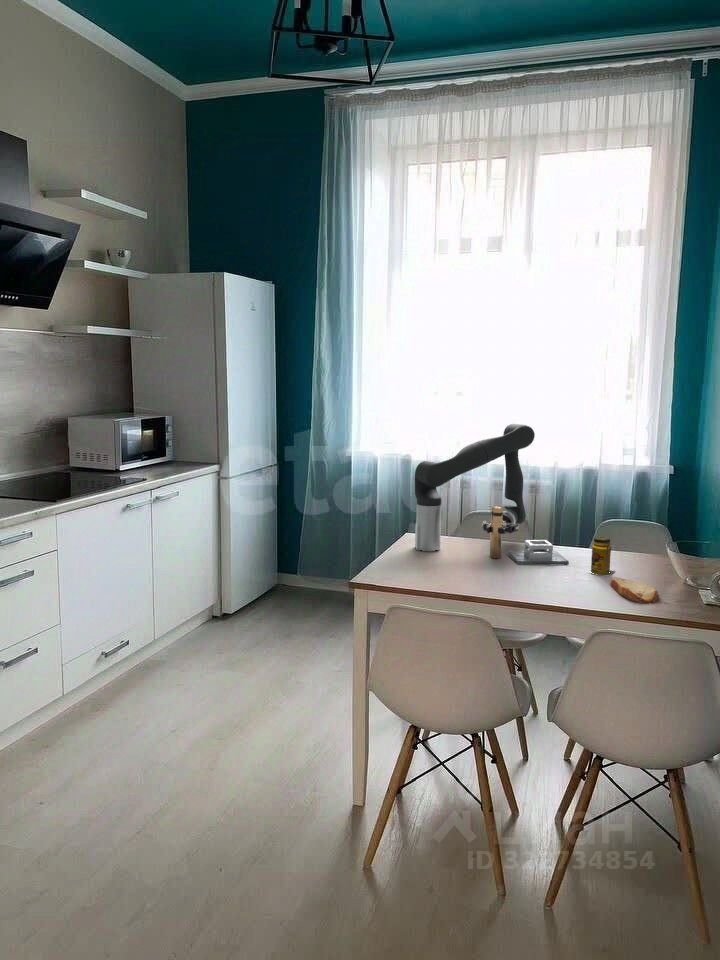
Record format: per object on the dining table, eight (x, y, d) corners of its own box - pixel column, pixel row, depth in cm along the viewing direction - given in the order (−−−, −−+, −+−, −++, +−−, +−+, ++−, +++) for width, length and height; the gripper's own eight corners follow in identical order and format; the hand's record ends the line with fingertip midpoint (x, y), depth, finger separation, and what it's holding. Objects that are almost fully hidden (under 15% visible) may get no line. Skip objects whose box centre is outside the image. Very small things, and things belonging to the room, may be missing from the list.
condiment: (586, 573, 248) (588, 538, 246) (594, 568, 255) (596, 534, 253) (608, 577, 244) (610, 541, 242) (615, 571, 251) (618, 537, 249)
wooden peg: (490, 557, 265) (492, 508, 262) (487, 554, 269) (489, 506, 266) (502, 557, 265) (504, 508, 262) (499, 554, 269) (502, 506, 267)
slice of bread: (613, 582, 239) (614, 571, 239) (670, 593, 228) (671, 581, 227) (591, 594, 226) (591, 582, 225) (650, 607, 214) (651, 594, 214)
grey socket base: (517, 564, 258) (518, 547, 257) (508, 554, 272) (509, 538, 271) (568, 564, 259) (569, 547, 258) (556, 554, 273) (557, 538, 272)
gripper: (485, 510, 281) (475, 518, 265) (523, 513, 275) (515, 522, 260) (485, 529, 282) (474, 539, 266) (522, 533, 277) (514, 543, 261)
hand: (494, 530), depth 263 cm, fingers closed on wooden peg, 4 cm apart
